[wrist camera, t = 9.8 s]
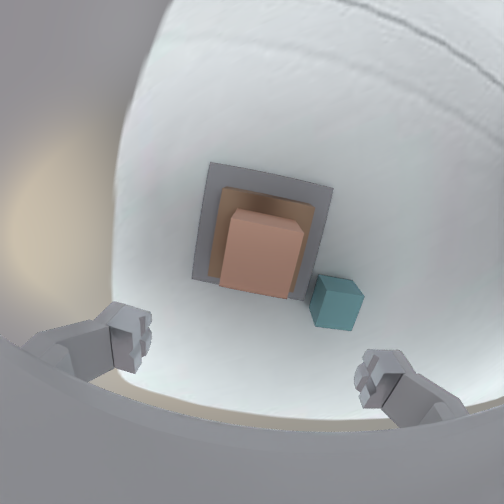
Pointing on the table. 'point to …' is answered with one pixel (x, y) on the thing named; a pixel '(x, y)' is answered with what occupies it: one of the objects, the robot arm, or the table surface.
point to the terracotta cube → (261, 253)
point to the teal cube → (335, 303)
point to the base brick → (260, 204)
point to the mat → (268, 185)
